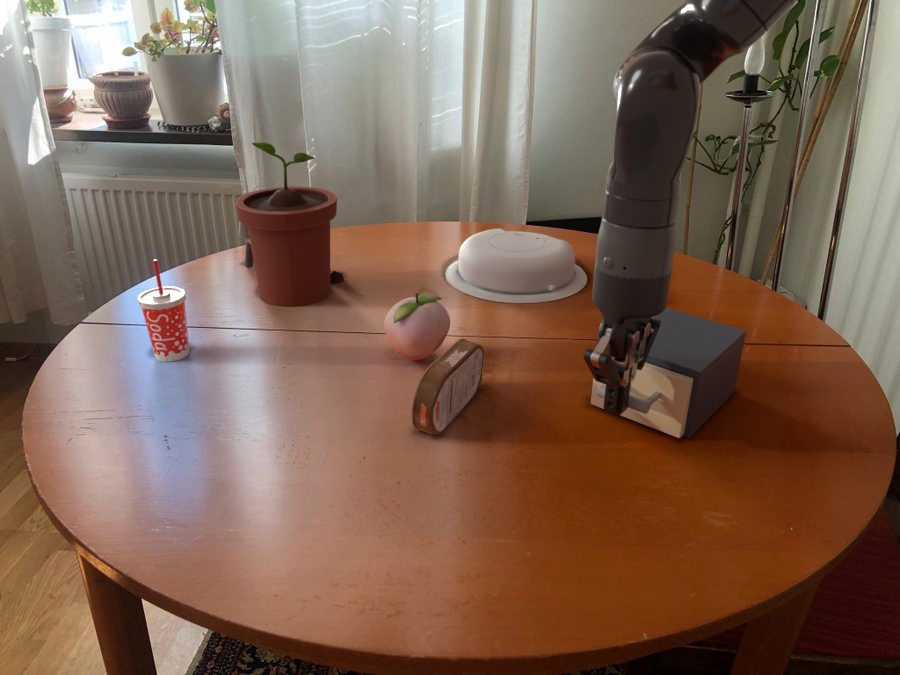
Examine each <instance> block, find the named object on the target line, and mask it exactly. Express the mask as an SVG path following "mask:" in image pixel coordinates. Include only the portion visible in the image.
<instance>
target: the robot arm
mask: <svg viewBox="0 0 900 675" xmlns="http://www.w3.org/2000/svg"><path fill="white" fill-rule="evenodd" d="M798 1H799V0H685V1H684V2H682V3H681V4H680V5H679V6H678V7H677V8H676V9H674V10H673V11H672V12H671V13H670V14H669V15H668V16H666V18H664V20H662V22H660V23H659V24H657V26H656V27H654V29H653V30H651V32H649V33H648V34H647V35H646V36H645V37H644V38H643V39H642V40H641V41H640V42H639V43H638V44H637V45H636V46H635V47H634V48H633V49H632V50H631V52H630V53H628V55H627V56H626V57H625V58H624V60H623V61H622V62H621V63H620V66H618V68H617V70H616V73H615V75H614V79H613V83H612V93H613V99H614V103H615V105H616V118H615V119H616V120H615V131H614V143H613V158H612V161H611V162H610V164H609V167H608V170H607V174H606V179H605V184H604V197H603V206H602V216H601V222H600V226H599V230H598V234H597V240H596V241H597V242H596V249H595V250H596V251H595V259H594V269H593V270H594V271H593V281H592V290H591V302H592V304H593V305H594V306H595V307H596V308H597V309H598V310H599V312H600V313H601V316H602V318H601V321H600V325H599V328H598V333H597V334H598V338H600V341H599V343H598V344H597V343H596V346H595V347H594V349H592V348H590V347H588V348H586V349H585V351H584V353H583V359H584V362H585V364H586V365H587V367H588V369H589V371H590V372H591V375H592V377H593V378H594V379H595V381H597V382H600V383H603V384H605V385H606V389H605V397H604V409H603V410H604V411H606V412H608V413H610V414H612V415H615V416H617V417H619V416H620V415H621V414H622V413H623V412H624V411H626V410H627V409H628V402H629V394H630V387H631V382H630V381H633V380H634V379H635V377H636V372H637V370H642V368H643V367H644V364H645V362H646V359H647V357H648V354H649V352H650V350H651V347H652V345H653V342H654V340H655V337H656V335H657V333H658V330H659V328H660V326H661V320H658V319H655V318H652V317H653V316H656V315H658V314H660V313H662V312H663V311H664V310H665V308H667V305H668V300H669V292H670V285H671V280H672V272H673V265H674V258H675V252H676V242H677V240H676V238H677V237H676V236H677V235H676V229H677V228H676V227H677V221H678V220H677V219H678V212H679V206H680V198H681V189H682V177H683V171H684V167H685V164H686V161H687V158H688V155H689V151H690V147H691V144H692V141H693V138H694V133H695V130H696V125H697V121H698V115H699V109H700V100H701V85H702V84H703V83H704V82H705V81H706V80H707V79H708V78H709V77H710V76H711V75H713V73H714V72H715V71H716V70H718V69H719V68H720V67H721V66H722V65H723V64H724V63H725V62H726V61H727V60H729V59H730V58H732V57H734V56H737V55H740V54H742V53H744V52H745V51H747V50H749V48H751V47H752V46H753V45H754V44H756V43H757V42H758V41H759V40H760V39H761V38H762V37H764V35H766V33H767V32H769V31H770V29H771V28H772V27H773V26H774V25H775V24H776V23H777V22H778V21H779V20H780V19H781V18H782V17H783V16H784V15H785V14H786V13H787V12H788V11H789V10H790V9H791V8H792V7H793V6H794V5H795V4H796V3H797V2H798Z"/></svg>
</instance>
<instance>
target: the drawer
mask: <svg viewBox="0 0 900 675" xmlns="http://www.w3.org/2000/svg"><path fill="white" fill-rule="evenodd" d="M630 382H631V387H630V394H629V402H628V409H627V410H626V411H624V412H623V413H622V414H621V415H619V416H621V417H623V418H626V419H629V420H631V421H634V422H636V423H639V424H641V425H644V426H646V427H649V428H651V429H654V430H657V431H659V432H661V433H664V434H667V435H670V436H672V437H675V438H677V439H681V438H682V437H683V436H682V435H683V434H684V431H685V425H686V419H687V413H688V408H689V402H690V396H691V390H692V384H693V378H692V377H691V376H688V375H685V374H684V375H682V374H679V373H676V372H673V371H670V370H667V369H664V368H661V367H658V366H655V365H652V364H649V363H646V362H645V364H644V367H643V368H642V370H637V372H636V377H635V379H634V380H633V381H630ZM605 389H606V385H605V384H603V383H600V382H597V381H595V379H594V377H593V379H592V389H591V396H590V398H591V399H590V405H593V406H594V407H597V408H600V409H602V410H605V409H604V397H605Z"/></svg>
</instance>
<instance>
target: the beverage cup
mask: <svg viewBox="0 0 900 675" xmlns="http://www.w3.org/2000/svg"><path fill="white" fill-rule="evenodd" d="M152 262H153V267H154V274H155V277H156V284H157V287H153V288H150V289H147V290H144V291H142V292H141V293H139V294H138V296H137V298H136V300H137V302H138V306H139V308H141V310H142V315H143V318H144V322H145V326H146V329H147V330H146V331H147V333H148V337H149V340H150V344H151V348H152V351H153V356H154V359H155V360H157V361H159V362H165V363H169V362H170V363H172V362H176V361H180V360H182V359H183V360H184V359H185V358H186V357H187V356H189V354H190V342H189V332H188V324H187V312H186V303H185V302H186V300H187V297H186V295H187V294H186V291H185V289H183V288H181V287H178V286H171V285H170V286H162V281H161V275H160V274H161V273H160V268H159V263H158V259H157V258H155V259H153V261H152Z"/></svg>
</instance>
